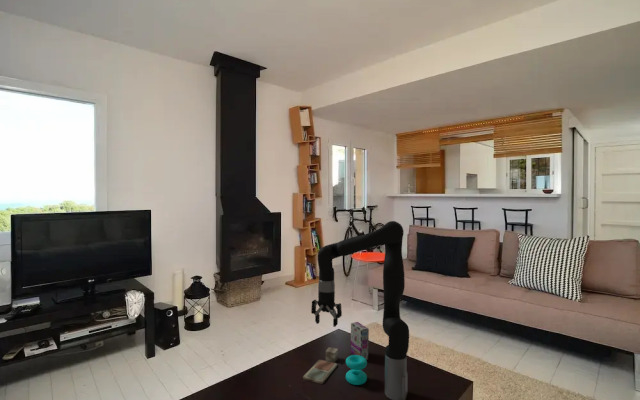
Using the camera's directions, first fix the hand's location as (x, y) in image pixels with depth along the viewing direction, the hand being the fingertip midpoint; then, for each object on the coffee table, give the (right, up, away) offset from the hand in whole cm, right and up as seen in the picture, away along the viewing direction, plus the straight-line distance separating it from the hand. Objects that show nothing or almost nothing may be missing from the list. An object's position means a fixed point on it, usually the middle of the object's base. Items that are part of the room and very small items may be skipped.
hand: (326, 324), depth 146 cm
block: (+3, -27, +23) cm, 36 cm away
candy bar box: (+19, -28, +27) cm, 43 cm away
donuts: (+14, -28, +3) cm, 31 cm away
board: (-2, -27, +10) cm, 29 cm away
